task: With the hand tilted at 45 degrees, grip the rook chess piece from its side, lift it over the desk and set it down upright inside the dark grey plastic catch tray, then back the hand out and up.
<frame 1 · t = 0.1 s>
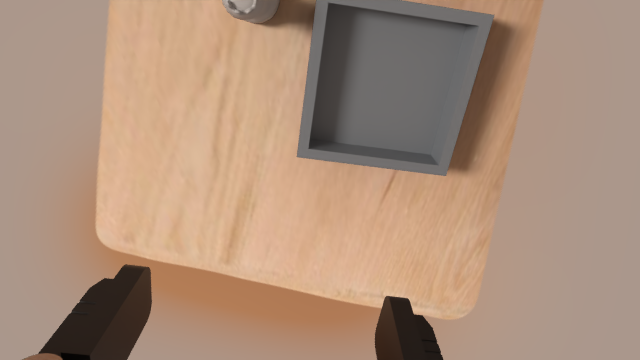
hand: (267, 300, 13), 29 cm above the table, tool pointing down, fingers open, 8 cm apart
catch tray: (381, 82, 39), on the table
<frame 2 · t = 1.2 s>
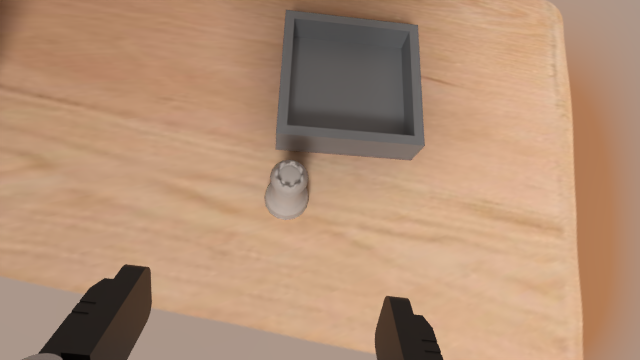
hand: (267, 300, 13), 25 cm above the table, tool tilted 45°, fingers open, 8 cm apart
rook chess piece: (286, 200, 41), on the table
catch tray: (345, 94, 45), on the table
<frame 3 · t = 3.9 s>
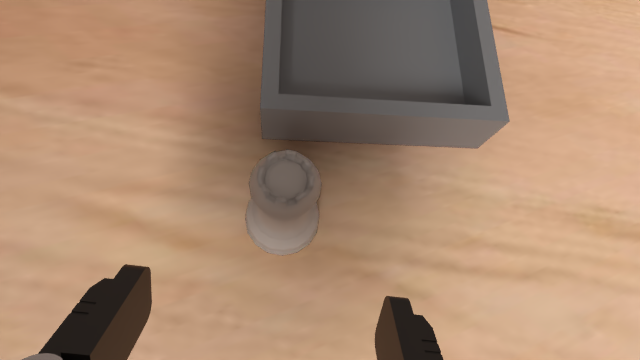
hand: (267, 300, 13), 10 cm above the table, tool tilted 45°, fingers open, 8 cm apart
rook chess piece: (282, 221, 25), on the table
catch tray: (368, 52, 29), on the table
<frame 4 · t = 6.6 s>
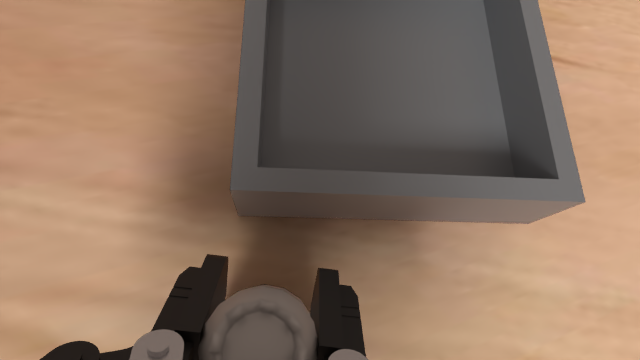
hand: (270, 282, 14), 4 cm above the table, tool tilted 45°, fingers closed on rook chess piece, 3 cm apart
rook chess piece: (264, 337, 18), on the table, touching gripper
catch tray: (381, 91, 22), on the table
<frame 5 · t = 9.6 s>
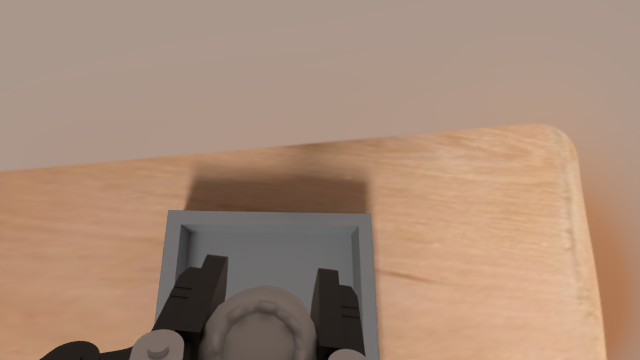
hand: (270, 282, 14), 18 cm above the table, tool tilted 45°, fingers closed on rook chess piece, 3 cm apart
rook chess piece: (264, 338, 18), point 14 cm above the table, touching gripper
catch tray: (269, 318, 31), on the table
when the fingers open (7 cm above the table, at t = 12.4 s): rook chess piece drops 2 cm, resting on catch tray.
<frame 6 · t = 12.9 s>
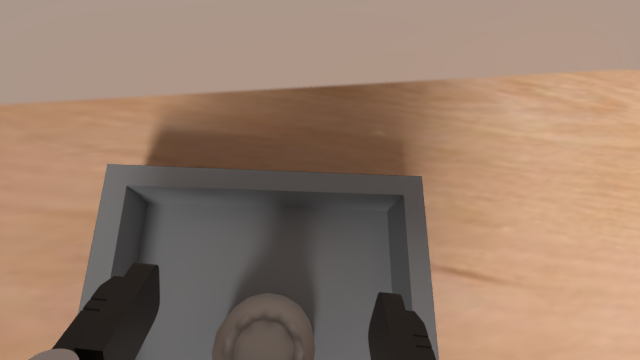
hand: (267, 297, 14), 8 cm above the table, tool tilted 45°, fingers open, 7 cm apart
rook chess piece: (267, 340, 19), point 1 cm above the table, touching catch tray
catch tray: (265, 335, 20), on the table
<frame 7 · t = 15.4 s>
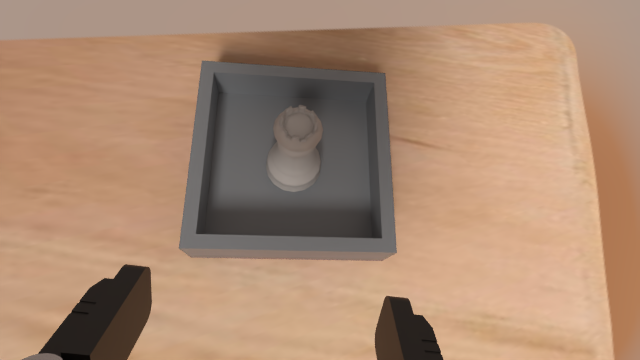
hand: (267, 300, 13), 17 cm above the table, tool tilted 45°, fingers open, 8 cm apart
rook chess piece: (293, 168, 33), point 1 cm above the table, touching catch tray
catch tray: (291, 170, 33), on the table
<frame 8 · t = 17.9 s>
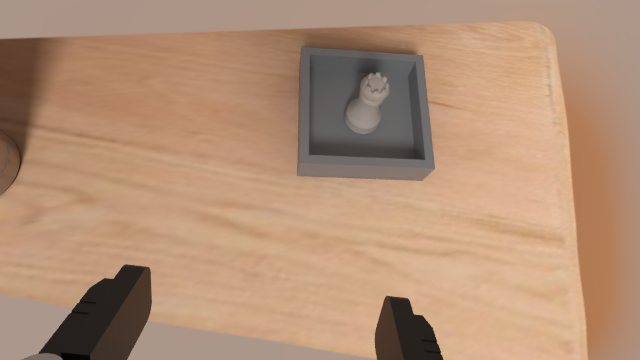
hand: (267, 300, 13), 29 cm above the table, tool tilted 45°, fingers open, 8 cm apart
rook chess piece: (360, 120, 48), point 1 cm above the table, touching catch tray
catch tray: (358, 121, 49), on the table
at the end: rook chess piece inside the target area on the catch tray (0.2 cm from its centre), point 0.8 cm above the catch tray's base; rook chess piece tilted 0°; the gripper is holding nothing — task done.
